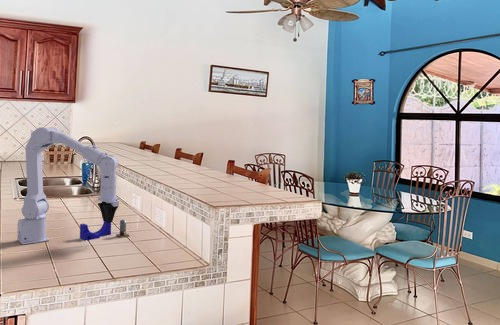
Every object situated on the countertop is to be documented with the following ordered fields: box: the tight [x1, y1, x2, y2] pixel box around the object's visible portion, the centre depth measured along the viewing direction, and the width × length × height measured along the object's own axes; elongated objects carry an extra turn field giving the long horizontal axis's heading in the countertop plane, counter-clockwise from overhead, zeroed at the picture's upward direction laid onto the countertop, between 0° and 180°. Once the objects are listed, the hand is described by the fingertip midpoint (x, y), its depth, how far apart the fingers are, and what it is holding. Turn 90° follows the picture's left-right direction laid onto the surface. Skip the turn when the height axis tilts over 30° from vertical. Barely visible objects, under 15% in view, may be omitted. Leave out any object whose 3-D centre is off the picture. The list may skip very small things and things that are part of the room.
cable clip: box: [79, 221, 112, 242], centre depth 163 cm, size 12×4×6 cm, turn 141°
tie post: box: [115, 219, 130, 239], centre depth 166 cm, size 4×4×7 cm
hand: (107, 221), depth 155 cm, fingers open, 2 cm apart
